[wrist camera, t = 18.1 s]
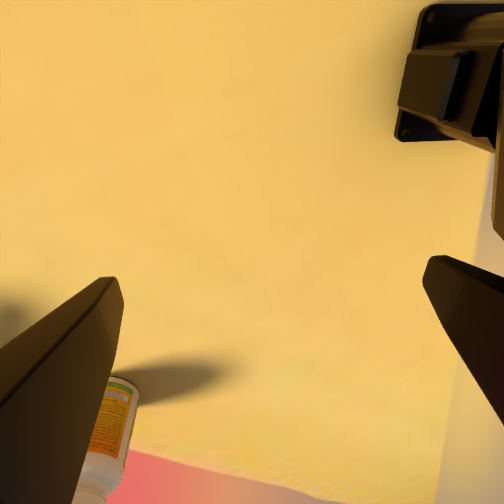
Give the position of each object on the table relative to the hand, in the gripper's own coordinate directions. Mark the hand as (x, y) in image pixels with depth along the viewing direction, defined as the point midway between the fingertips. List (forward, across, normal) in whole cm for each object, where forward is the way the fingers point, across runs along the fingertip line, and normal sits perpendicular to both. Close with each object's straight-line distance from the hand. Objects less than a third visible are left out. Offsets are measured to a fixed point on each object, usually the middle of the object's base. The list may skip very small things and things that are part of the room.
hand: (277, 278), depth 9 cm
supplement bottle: (+12, +13, +21) cm, 28 cm away
